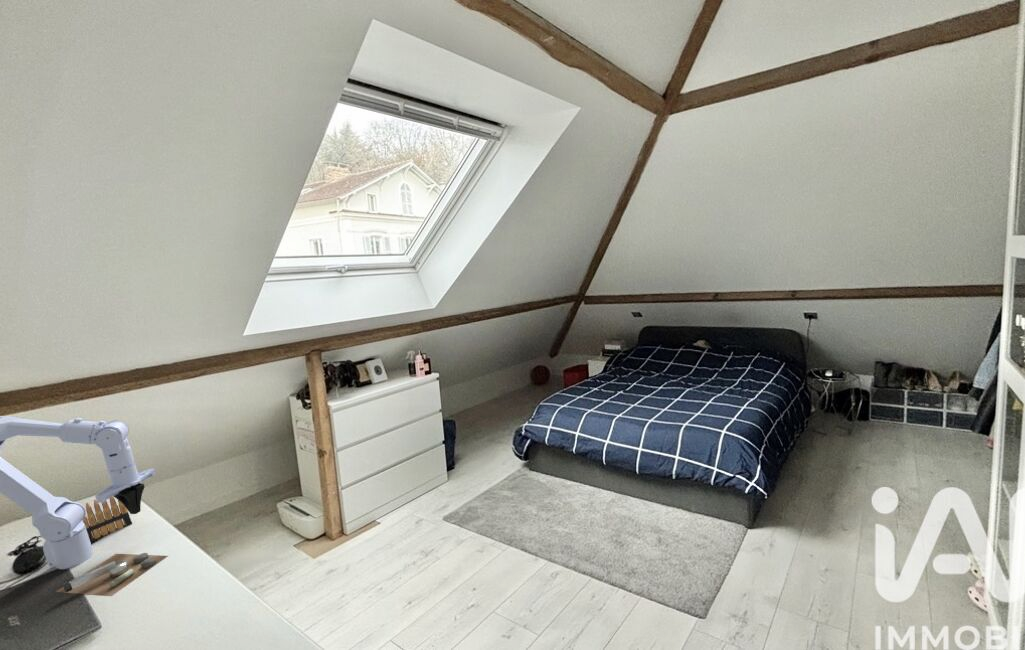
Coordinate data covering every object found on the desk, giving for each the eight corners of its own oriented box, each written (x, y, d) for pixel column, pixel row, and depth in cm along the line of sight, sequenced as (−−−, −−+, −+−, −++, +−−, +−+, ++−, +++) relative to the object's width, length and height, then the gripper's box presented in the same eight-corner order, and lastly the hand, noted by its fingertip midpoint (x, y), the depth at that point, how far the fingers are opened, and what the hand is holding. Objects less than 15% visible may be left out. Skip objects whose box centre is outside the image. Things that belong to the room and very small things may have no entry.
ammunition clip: (87, 547, 136) (74, 508, 134) (86, 544, 137) (73, 506, 135) (133, 527, 144) (122, 490, 142) (132, 525, 145) (121, 488, 143)
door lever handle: (67, 601, 110) (63, 587, 109) (65, 595, 112) (61, 582, 112) (130, 571, 118) (126, 558, 118) (127, 566, 121) (123, 553, 120)
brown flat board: (56, 596, 115) (53, 586, 114) (117, 557, 128) (114, 548, 127) (112, 600, 110) (109, 590, 109) (169, 560, 123) (166, 550, 123)
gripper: (104, 479, 121) (119, 528, 123) (158, 453, 135) (171, 498, 137) (83, 480, 123) (99, 528, 125) (139, 454, 137) (152, 498, 139)
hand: (135, 512), depth 131 cm, fingers closed
